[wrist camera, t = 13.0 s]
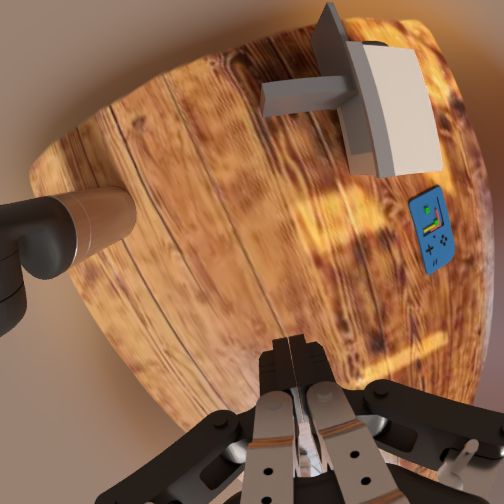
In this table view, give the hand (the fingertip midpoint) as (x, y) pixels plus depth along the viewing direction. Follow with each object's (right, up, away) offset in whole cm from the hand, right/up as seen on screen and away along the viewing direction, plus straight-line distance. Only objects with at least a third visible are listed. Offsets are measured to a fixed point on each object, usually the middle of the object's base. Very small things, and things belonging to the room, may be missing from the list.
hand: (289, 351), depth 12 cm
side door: (+4, +31, +23) cm, 39 cm away
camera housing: (+15, +26, +25) cm, 39 cm away
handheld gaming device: (+32, +9, +30) cm, 45 cm away
